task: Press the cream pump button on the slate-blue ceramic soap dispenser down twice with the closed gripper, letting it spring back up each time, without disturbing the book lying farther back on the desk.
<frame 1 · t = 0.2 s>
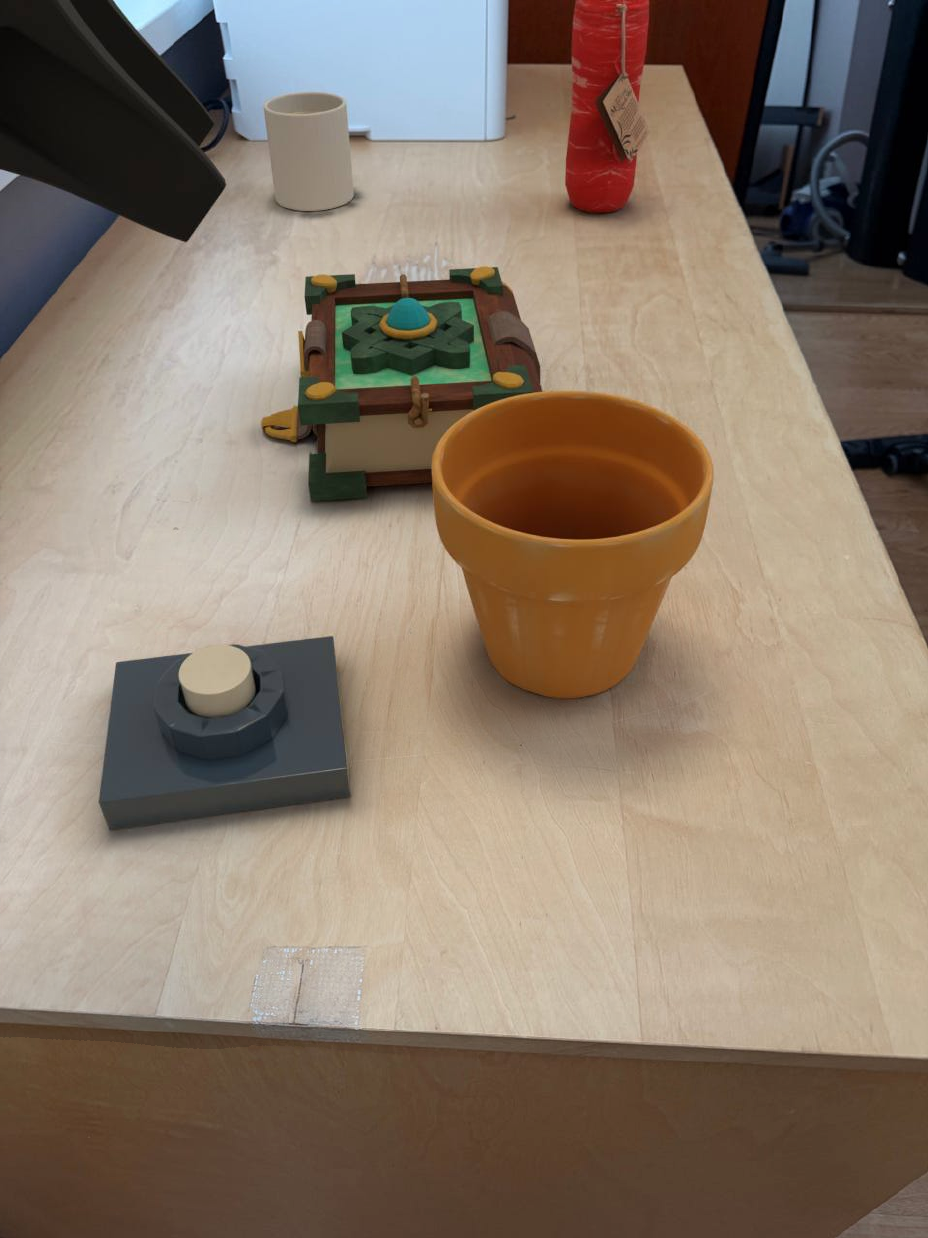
hand: (201, 176, 33), 31 cm above the table, tool tilted 45°, fingers open, 7 cm apart
pump: (217, 681, 53), point 4 cm above the table, slide at 0.1 cm
flower pot: (559, 649, 61), on the table
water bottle: (601, 211, 114), on the table
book: (398, 406, 83), on the table
mug: (321, 196, 119), on the table
dispenser: (231, 740, 56), on the table
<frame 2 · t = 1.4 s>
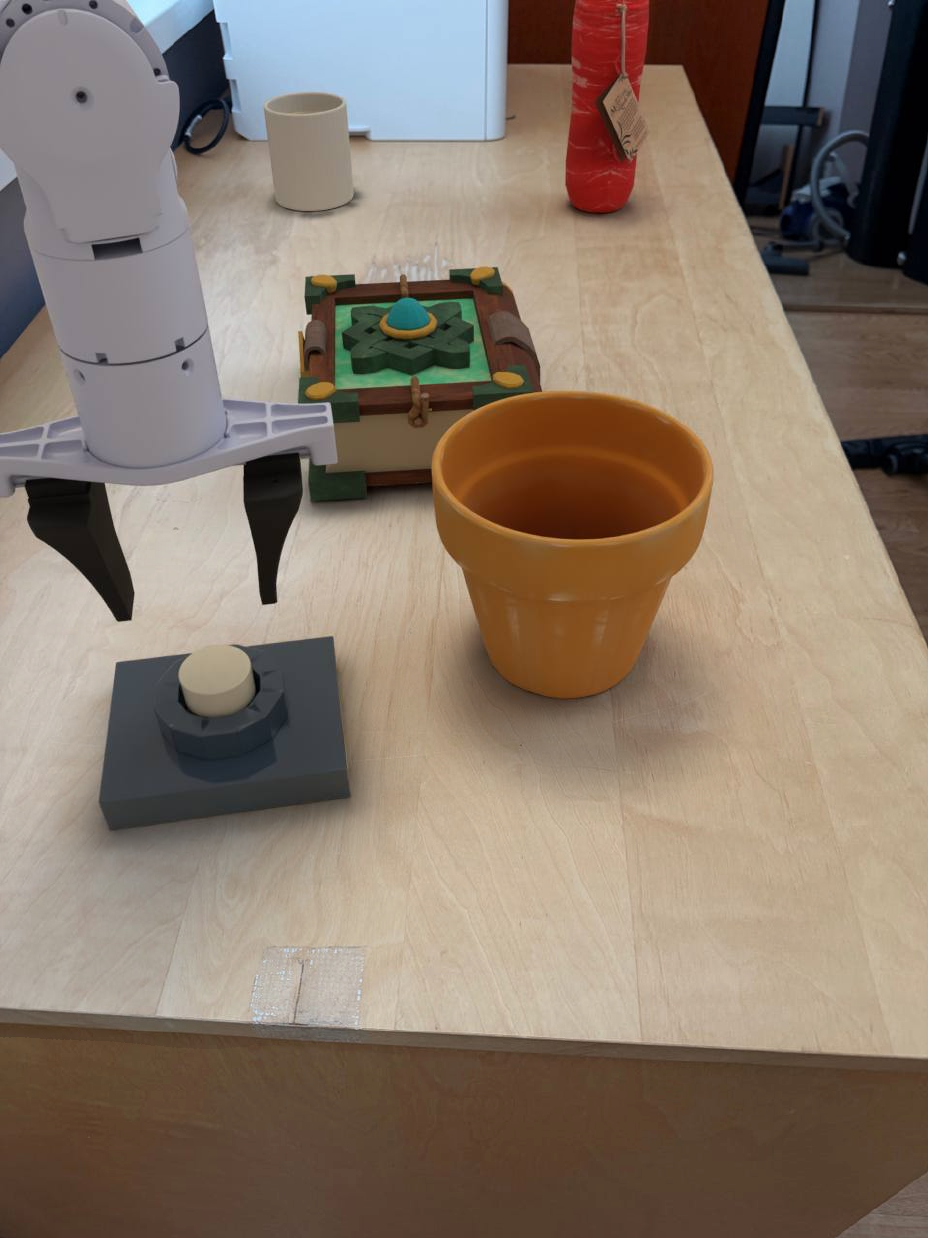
hand: (198, 599, 49), 10 cm above the table, tool pointing down, fingers open, 6 cm apart
nothing on the table moved.
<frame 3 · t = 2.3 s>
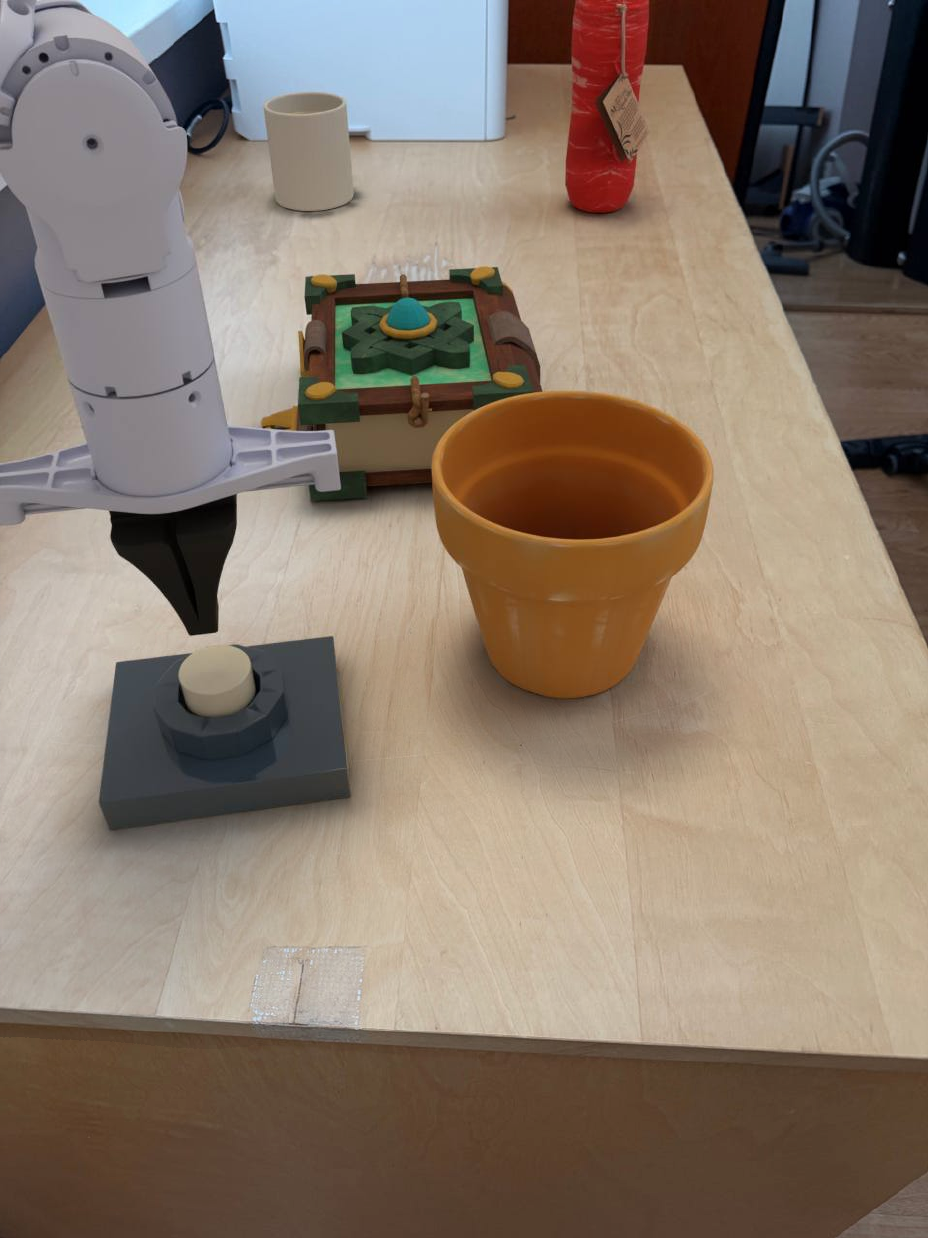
hand: (203, 621, 50), 9 cm above the table, tool pointing down, fingers closed
nothing on the table moved.
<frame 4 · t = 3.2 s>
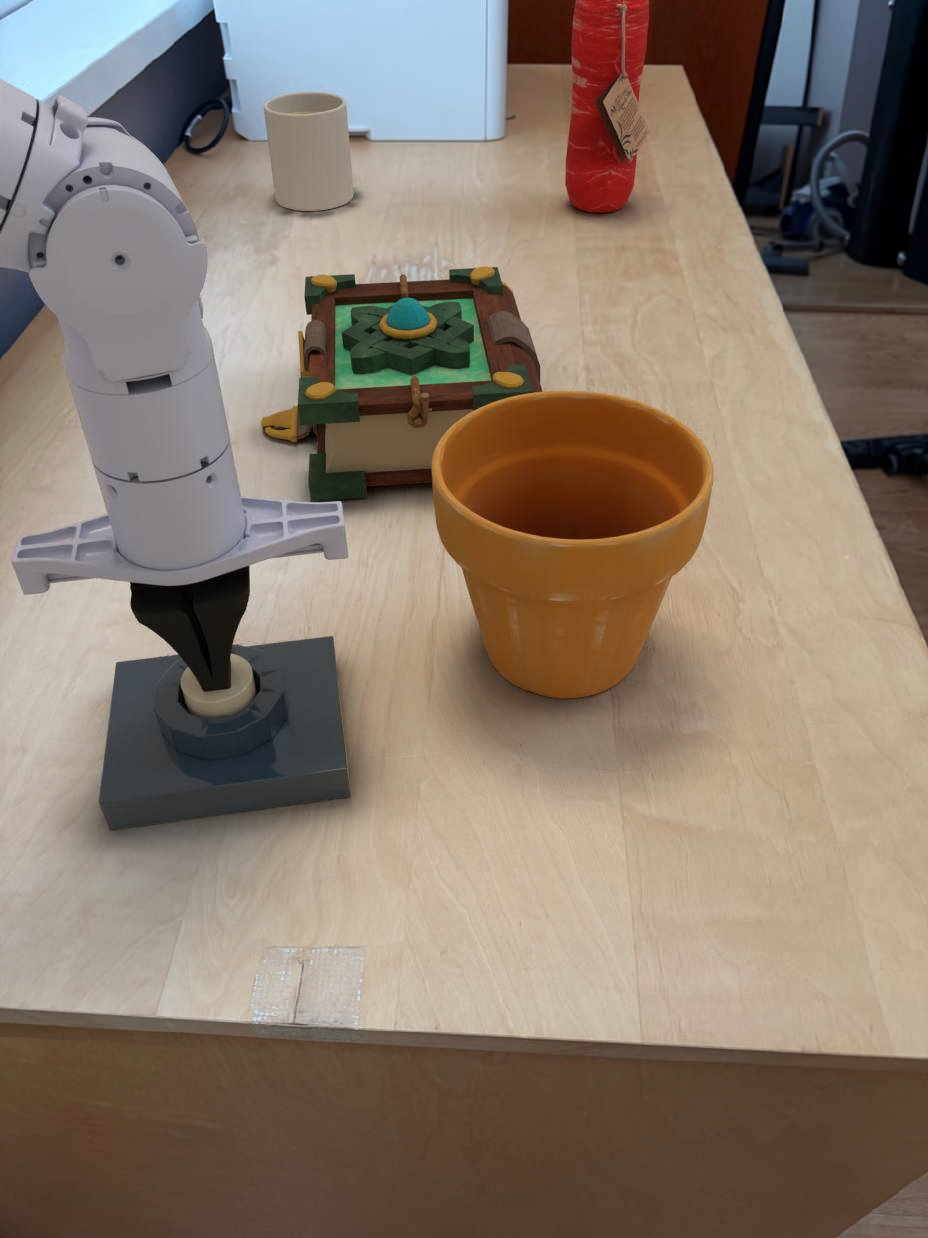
hand: (217, 677, 53), 5 cm above the table, tool pointing down, fingers closed, pressing on pump
pump: (219, 688, 53), point 4 cm above the table, slide at -0.5 cm, touching gripper
everything else where it was.
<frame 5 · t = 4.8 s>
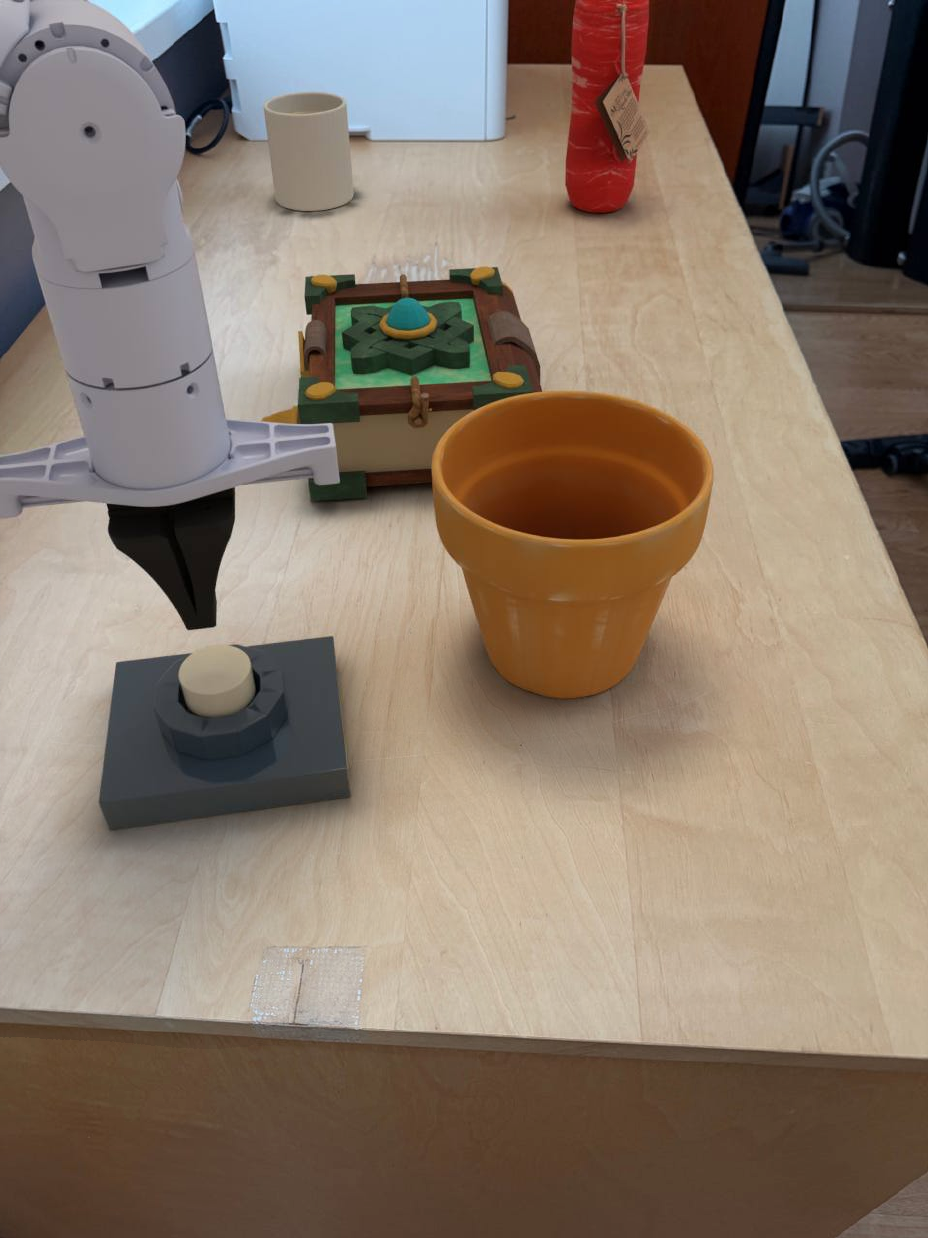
hand: (201, 615, 50), 9 cm above the table, tool pointing down, fingers closed
pump: (217, 681, 53), point 4 cm above the table, slide at 0.1 cm
everything else where it was.
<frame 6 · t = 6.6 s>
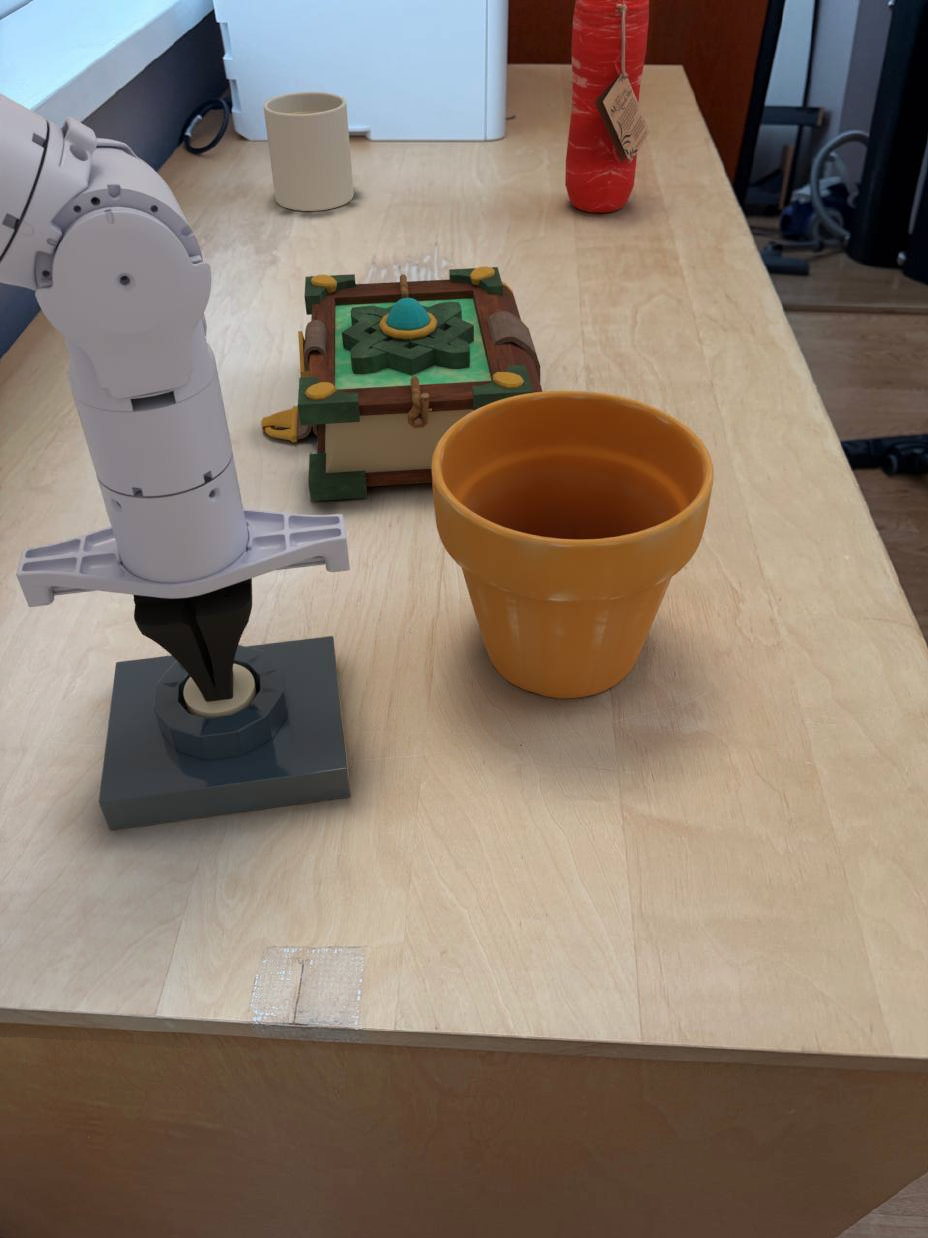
hand: (219, 687, 53), 4 cm above the table, tool pointing down, fingers closed, pressing on pump
pump: (221, 698, 54), point 3 cm above the table, slide at -1.2 cm, touching gripper
everything else where it was.
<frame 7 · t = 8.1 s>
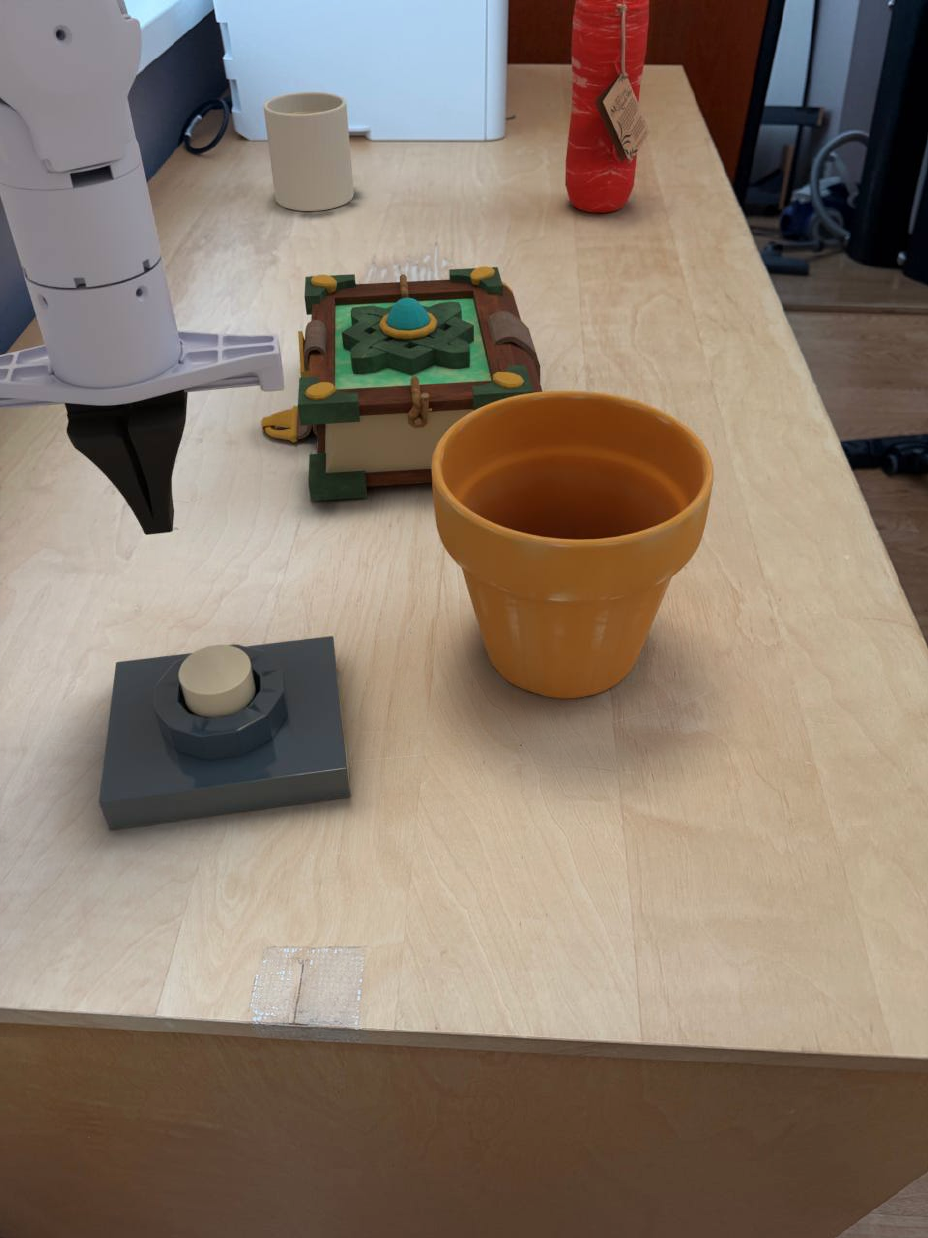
hand: (159, 522, 53), 10 cm above the table, tool pointing down, fingers closed
pump: (217, 681, 53), point 4 cm above the table, slide at 0.1 cm
everything else where it was.
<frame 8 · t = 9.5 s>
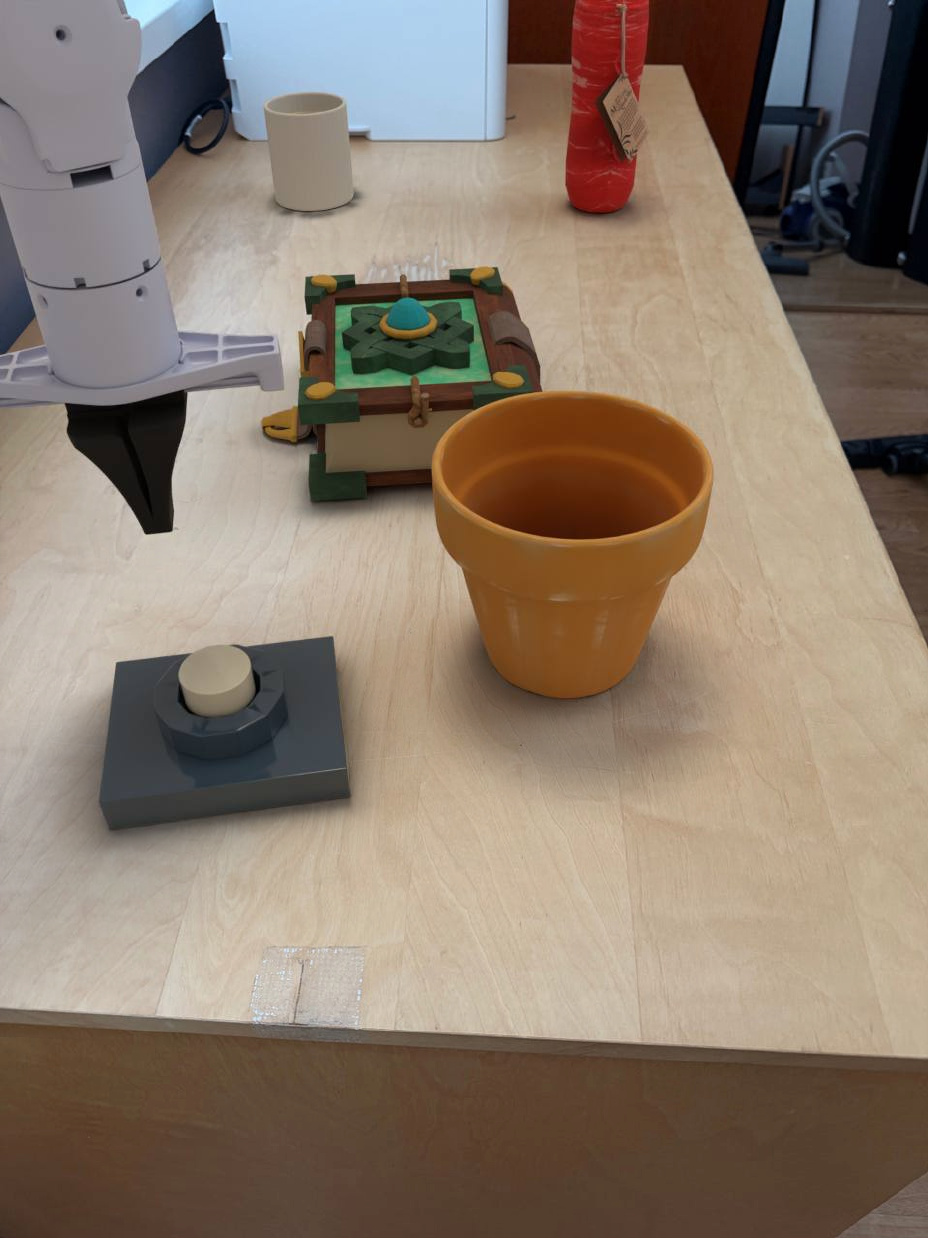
hand: (159, 522, 53), 10 cm above the table, tool pointing down, fingers closed
nothing on the table moved.
at the end: pump pushed in 1.2 cm at the most during the clip, back to where it started at the end; pump slide at 0.1 cm; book moved 0.2 cm from its start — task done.
